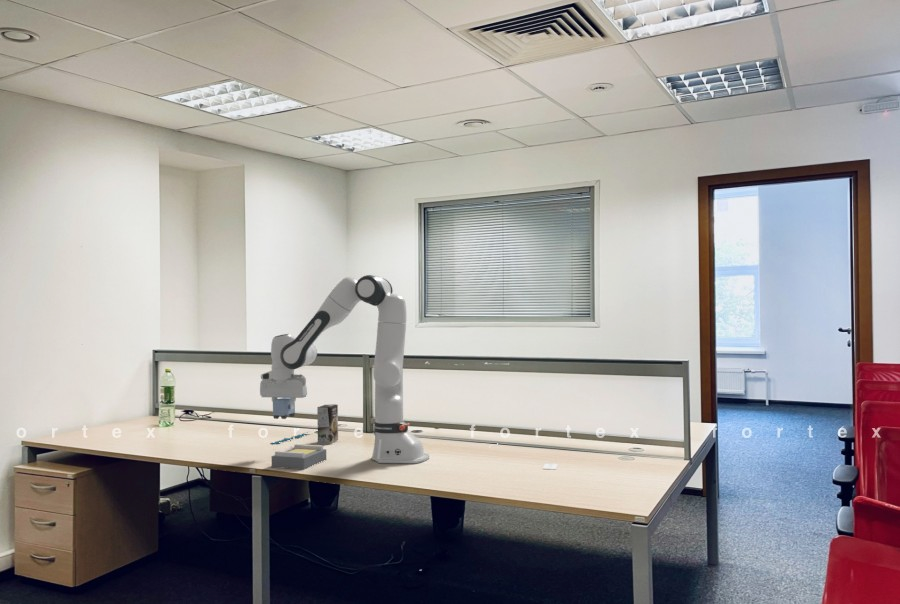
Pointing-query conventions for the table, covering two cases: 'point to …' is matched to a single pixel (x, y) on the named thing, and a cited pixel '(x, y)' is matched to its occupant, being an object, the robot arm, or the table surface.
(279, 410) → the cart
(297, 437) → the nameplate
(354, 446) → the table surface
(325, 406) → the coffee box
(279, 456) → the dock
